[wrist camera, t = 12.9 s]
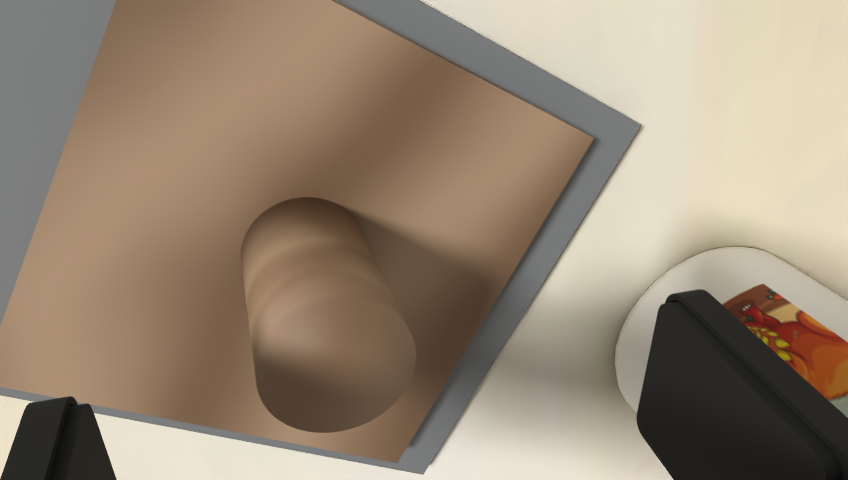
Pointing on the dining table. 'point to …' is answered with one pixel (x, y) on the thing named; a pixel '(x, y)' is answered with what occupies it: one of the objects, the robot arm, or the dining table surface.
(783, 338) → the milk bottle
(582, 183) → the mat
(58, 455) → the robot arm
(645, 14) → the dining table surface
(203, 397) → the lid
